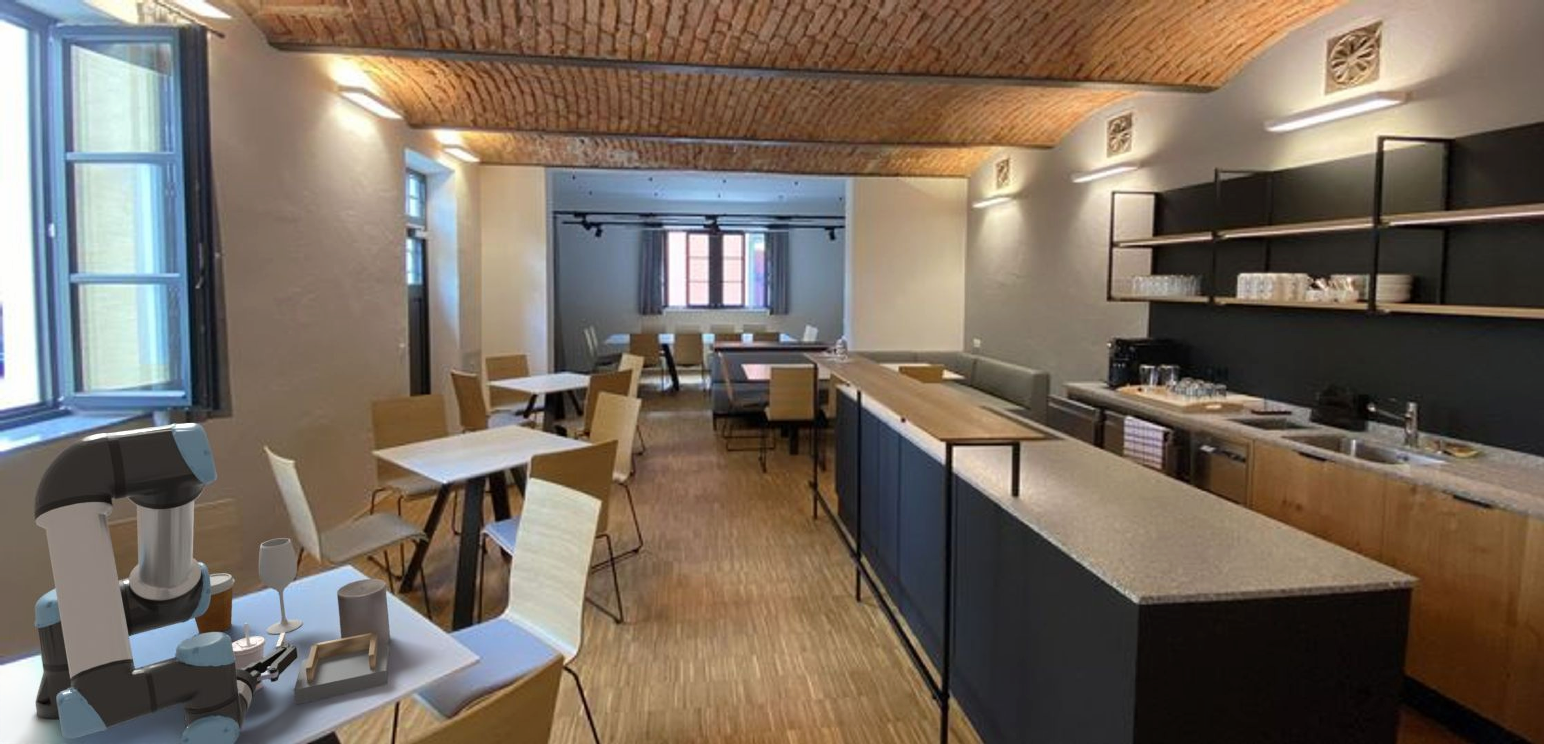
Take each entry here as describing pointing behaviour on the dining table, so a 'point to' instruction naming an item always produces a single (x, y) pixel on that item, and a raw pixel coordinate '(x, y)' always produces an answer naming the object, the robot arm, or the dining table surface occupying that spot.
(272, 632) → the wineglass
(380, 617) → the pillar candle
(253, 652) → the smoothie
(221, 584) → the disposable coffee cup
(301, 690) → the dock
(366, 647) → the bay walls
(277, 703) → the dining table surface
